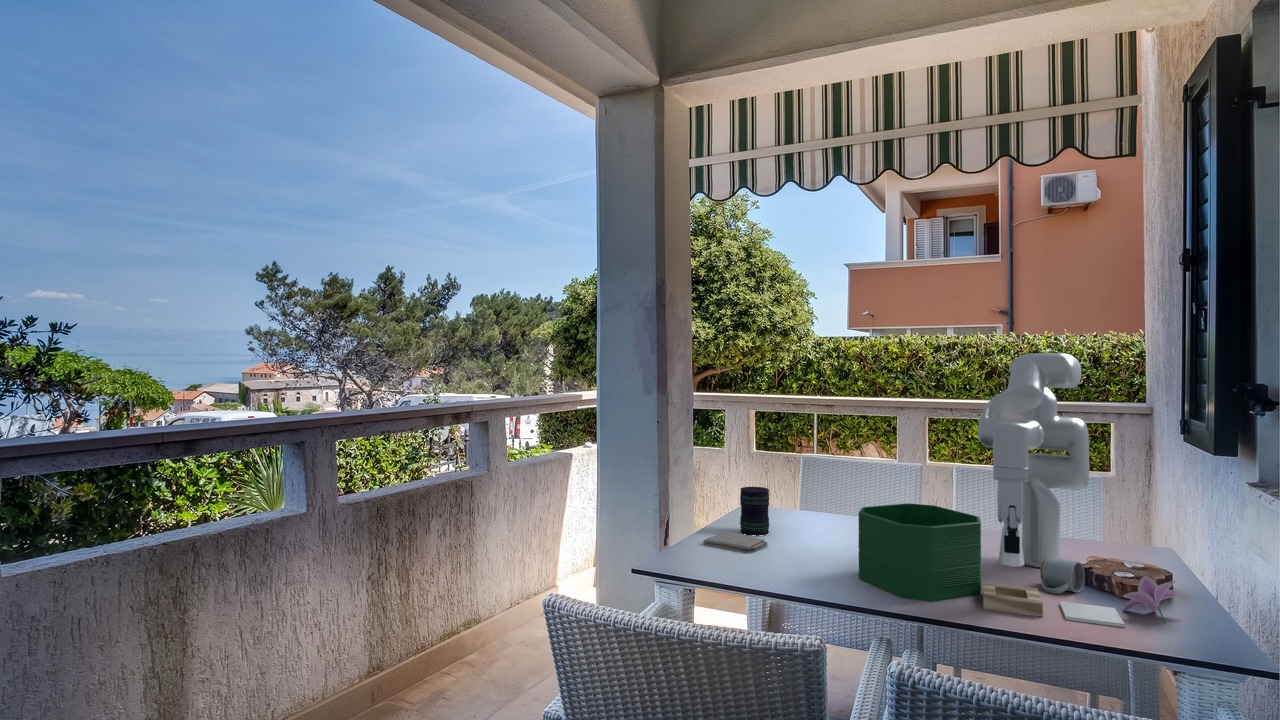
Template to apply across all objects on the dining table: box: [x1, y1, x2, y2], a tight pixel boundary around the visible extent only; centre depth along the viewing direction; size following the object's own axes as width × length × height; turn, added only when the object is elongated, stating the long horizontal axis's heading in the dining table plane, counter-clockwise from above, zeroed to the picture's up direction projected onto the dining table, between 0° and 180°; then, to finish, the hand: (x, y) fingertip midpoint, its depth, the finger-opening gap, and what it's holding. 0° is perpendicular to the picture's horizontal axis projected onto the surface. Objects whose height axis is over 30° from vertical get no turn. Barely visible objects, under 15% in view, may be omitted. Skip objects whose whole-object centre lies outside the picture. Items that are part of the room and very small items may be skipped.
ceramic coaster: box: [1059, 600, 1126, 628], centre depth 157 cm, size 11×11×1 cm
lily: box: [1122, 576, 1181, 624], centre depth 156 cm, size 12×12×10 cm
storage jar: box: [739, 486, 770, 537], centre depth 236 cm, size 10×10×15 cm
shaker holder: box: [981, 581, 1044, 618], centre depth 164 cm, size 12×12×3 cm
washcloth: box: [703, 531, 768, 554], centre depth 219 cm, size 12×18×3 cm, turn 54°
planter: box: [857, 502, 982, 603], centre depth 181 cm, size 26×26×18 cm
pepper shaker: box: [998, 520, 1025, 568], centre depth 165 cm, size 5×5×11 cm
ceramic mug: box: [1039, 558, 1086, 595], centre depth 176 cm, size 11×8×8 cm
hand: (1011, 549), depth 165 cm, fingers closed on pepper shaker, 4 cm apart
